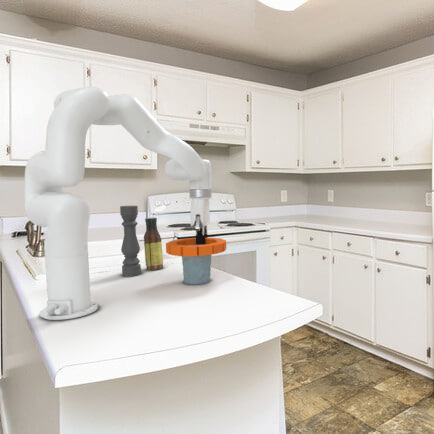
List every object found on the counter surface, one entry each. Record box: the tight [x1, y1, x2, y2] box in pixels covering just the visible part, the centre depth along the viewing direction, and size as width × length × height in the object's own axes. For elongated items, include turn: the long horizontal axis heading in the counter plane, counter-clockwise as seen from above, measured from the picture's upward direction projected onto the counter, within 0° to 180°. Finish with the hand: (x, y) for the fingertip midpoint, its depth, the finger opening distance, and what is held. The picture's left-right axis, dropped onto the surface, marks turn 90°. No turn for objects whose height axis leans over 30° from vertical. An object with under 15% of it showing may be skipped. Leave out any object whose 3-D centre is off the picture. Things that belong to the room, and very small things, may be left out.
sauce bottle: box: [143, 216, 164, 271], centre depth 156 cm, size 7×6×20 cm
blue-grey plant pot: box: [181, 244, 212, 285], centre depth 139 cm, size 10×10×12 cm
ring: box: [165, 237, 227, 257], centre depth 138 cm, size 19×19×3 cm
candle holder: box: [119, 205, 142, 278], centre depth 147 cm, size 6×6×25 cm
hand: (202, 245), depth 146 cm, fingers closed on ring, 3 cm apart
